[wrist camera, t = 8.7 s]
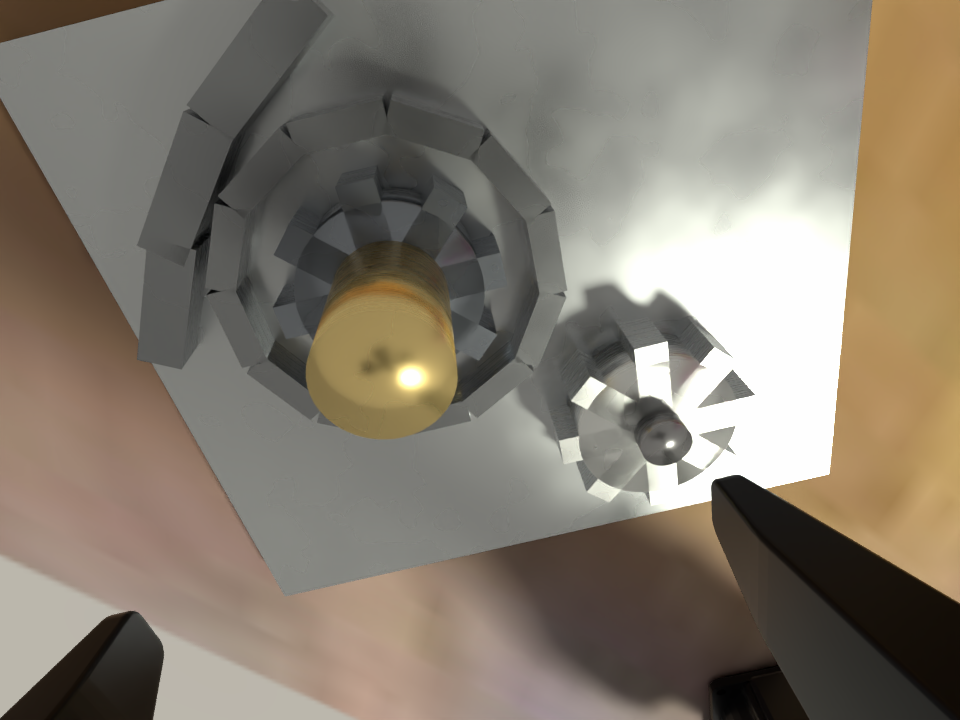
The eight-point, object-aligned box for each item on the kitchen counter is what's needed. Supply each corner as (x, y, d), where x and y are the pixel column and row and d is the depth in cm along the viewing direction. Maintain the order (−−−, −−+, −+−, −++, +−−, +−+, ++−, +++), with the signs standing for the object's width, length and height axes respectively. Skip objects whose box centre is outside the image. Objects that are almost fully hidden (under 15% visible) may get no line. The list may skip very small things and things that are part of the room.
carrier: (811, 454, 25) (872, 521, 21) (290, 572, 25) (271, 655, 22) (856, -173, 15) (981, -228, 12) (2, 47, 16) (-110, 55, 12)
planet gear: (517, 342, 20) (552, 459, 14) (326, 387, 20) (293, 519, 15) (473, 140, 16) (498, 196, 11) (246, 196, 17) (168, 277, 12)
